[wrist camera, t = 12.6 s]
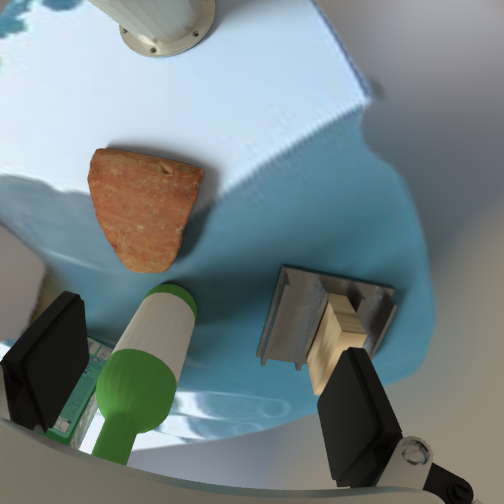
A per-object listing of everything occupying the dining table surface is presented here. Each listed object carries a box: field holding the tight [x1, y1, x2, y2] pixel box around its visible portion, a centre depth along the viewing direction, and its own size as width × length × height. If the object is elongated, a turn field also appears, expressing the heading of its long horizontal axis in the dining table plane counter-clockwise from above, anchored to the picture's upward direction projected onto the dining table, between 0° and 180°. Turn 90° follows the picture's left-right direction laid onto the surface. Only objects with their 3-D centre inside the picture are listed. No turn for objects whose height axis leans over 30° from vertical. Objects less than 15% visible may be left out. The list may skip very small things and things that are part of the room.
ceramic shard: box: [87, 148, 204, 273], centre depth 37 cm, size 15×6×15 cm
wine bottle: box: [91, 284, 197, 466], centre depth 29 cm, size 8×8×30 cm
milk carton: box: [33, 336, 114, 450], centre depth 35 cm, size 9×9×25 cm
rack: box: [256, 264, 398, 371], centre depth 42 cm, size 15×17×4 cm
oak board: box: [306, 293, 367, 395], centre depth 38 cm, size 10×3×10 cm, turn 168°
